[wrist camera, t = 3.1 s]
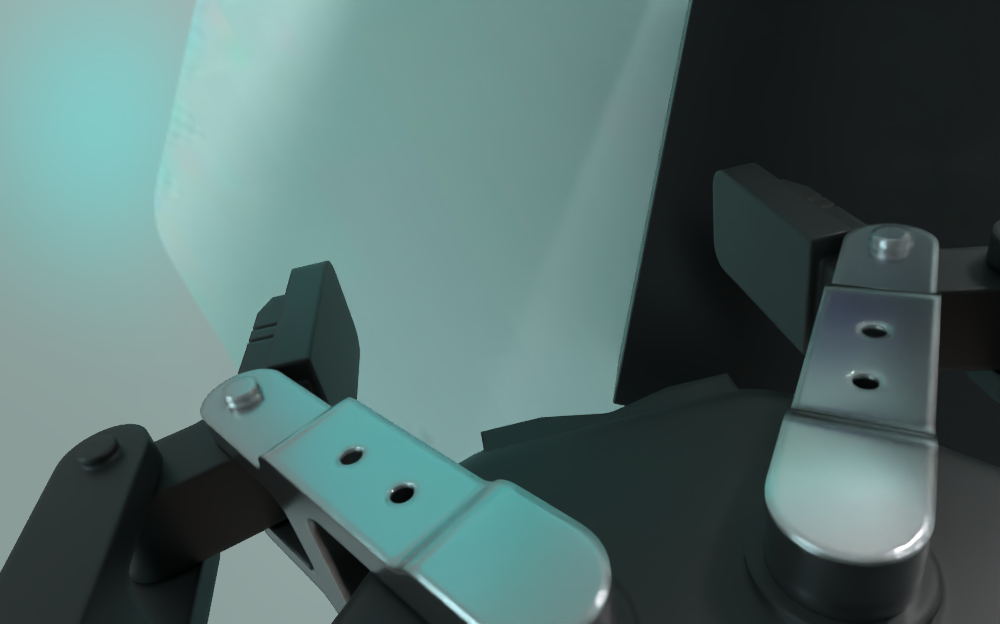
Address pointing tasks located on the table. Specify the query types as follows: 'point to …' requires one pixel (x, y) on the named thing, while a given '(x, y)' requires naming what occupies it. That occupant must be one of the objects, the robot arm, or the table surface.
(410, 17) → the table surface
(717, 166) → the toaster oven
